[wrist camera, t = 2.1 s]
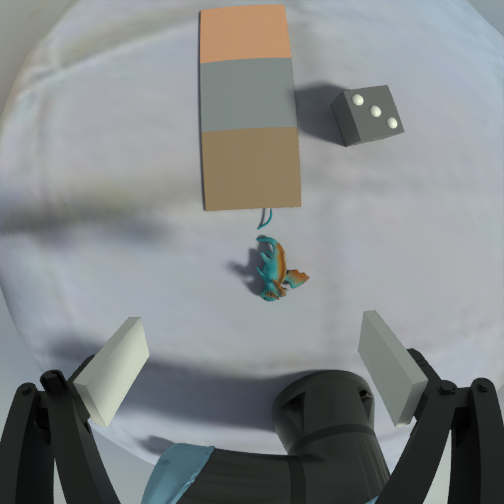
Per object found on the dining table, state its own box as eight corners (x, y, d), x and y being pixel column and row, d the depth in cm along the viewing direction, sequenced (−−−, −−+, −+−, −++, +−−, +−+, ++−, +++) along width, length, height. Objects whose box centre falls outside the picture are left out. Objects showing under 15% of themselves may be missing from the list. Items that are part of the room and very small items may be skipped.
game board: (300, 206, 29) (301, 206, 28) (206, 210, 29) (205, 211, 29) (284, 6, 22) (284, 4, 22) (201, 11, 23) (201, 10, 23)
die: (383, 138, 26) (404, 132, 21) (345, 147, 27) (361, 140, 22) (369, 98, 25) (387, 84, 20) (330, 104, 26) (343, 91, 21)
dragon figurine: (210, 254, 30) (252, 317, 28) (252, 209, 25) (304, 280, 24) (246, 245, 35) (283, 298, 33) (285, 207, 31) (328, 264, 29)
